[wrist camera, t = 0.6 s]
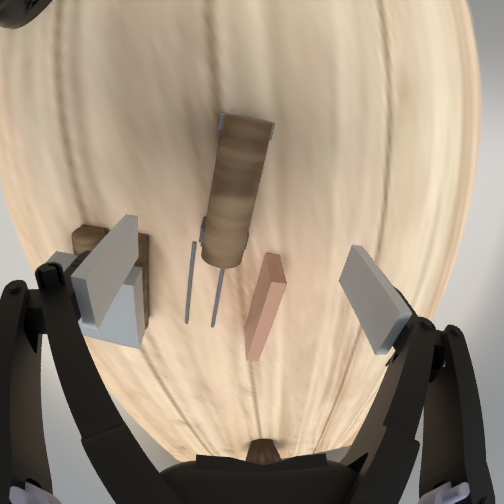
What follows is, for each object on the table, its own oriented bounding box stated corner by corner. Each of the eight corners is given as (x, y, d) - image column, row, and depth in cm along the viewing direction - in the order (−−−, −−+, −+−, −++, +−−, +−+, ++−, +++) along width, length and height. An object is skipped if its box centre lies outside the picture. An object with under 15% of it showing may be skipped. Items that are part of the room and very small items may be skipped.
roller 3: (225, 114, 26) (224, 114, 22) (270, 122, 27) (276, 124, 23) (203, 243, 34) (199, 264, 30) (240, 249, 34) (242, 271, 30)
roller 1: (81, 223, 35) (65, 239, 31) (110, 228, 36) (96, 245, 31) (92, 302, 43) (82, 321, 38) (117, 308, 44) (108, 328, 39)
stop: (265, 252, 39) (271, 281, 33) (279, 255, 40) (286, 283, 34) (244, 329, 47) (246, 360, 41) (255, 330, 47) (258, 361, 41)
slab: (56, 251, 31) (42, 266, 28) (142, 267, 33) (133, 285, 30) (70, 312, 37) (60, 328, 33) (145, 330, 39) (139, 348, 36)
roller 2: (117, 229, 36) (105, 247, 32) (150, 233, 37) (142, 252, 33) (123, 310, 44) (116, 330, 39) (150, 314, 45) (145, 335, 40)
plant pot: (233, 445, 80) (235, 482, 66) (251, 433, 73) (254, 475, 60) (269, 448, 84) (273, 483, 70) (290, 436, 77) (295, 475, 64)
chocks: (82, 224, 35) (81, 225, 35) (228, 247, 39) (228, 248, 38) (93, 303, 43) (92, 305, 42) (213, 325, 46) (213, 327, 46)
